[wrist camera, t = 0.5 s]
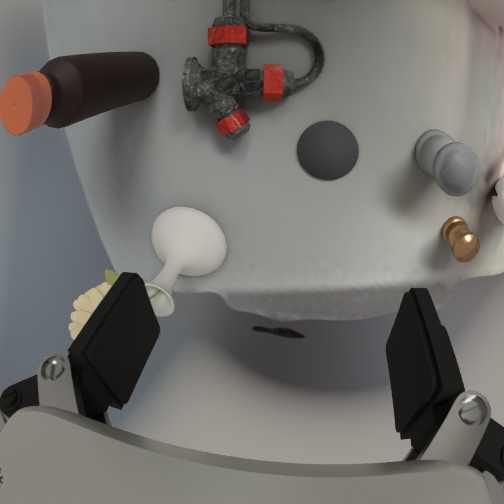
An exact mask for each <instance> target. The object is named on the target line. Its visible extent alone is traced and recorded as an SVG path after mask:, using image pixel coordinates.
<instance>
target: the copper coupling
mask: <svg viewBox="0 0 504 504" xmlns="http://www.w3.org/2000/svg"><path fill="white" fill-rule="evenodd" d="M442 236H443V238H444V240H445V241H446V242H447V243H448V244H450V246H451V247H452V252H453V255H454V256H455V258H456V259H457V260H458V261H460V262H467V261H470V260H471V259H473V258H474V257H475V256H476V255H477V253H478V251H479V248H480V241H479V239H478V238H477V236H476V235H475V234H474V233H472V232H470V230H469V229H468V226H467V223H466V222H465V221H464V220H463V219H462V218H461V217H458V216H455V217H451V218H449V219H448V220H447V221H446V222H445V223H444V225H443V227H442Z"/></svg>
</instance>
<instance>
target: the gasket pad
mask: <svg viewBox="0 0 504 504" xmlns="http://www.w3.org/2000/svg"><path fill="white" fill-rule="evenodd" d="M358 153H359V151H358V144H357V141H356V139H355V137H354V135H353V134H352V133H351V131H350V130H349V129H348V128H346V127H345V126H343V125H342V124H339V123H337V122H333V121H322V122H318V123H315V124H313V125H311V126H310V127H308V128H307V129H306V130H305V131H304V133H303V134H302V136H301V138H300V140H299V144H298V156H299V159H300V162H301V164H302V165H303V167H304V168H305V169H306V170H307V171H308V172H309V173H310V174H312V175H313V176H315V177H318V178H321V179H327V180H331V179H337V178H340V177H342V176H344V175H346V174H347V173H349V172H350V171H351V170H352V168H353V167H354V166H355V164H356V162H357V159H358Z"/></svg>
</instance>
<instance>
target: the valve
mask: <svg viewBox="0 0 504 504" xmlns="http://www.w3.org/2000/svg"><path fill="white" fill-rule="evenodd" d="M247 28H249V29H251V30H253V31H261V32H285V33H294V34H298V35H300V36H302V37H304V38H306V39H307V40H308V41H309V42H310V43H311V45H312V46H313V48H314V51H315V56H316V59H315V64H314V67H313V68H312V70H311V71H310V72H309V73H308V74H307V75H306V76H304V77H302V78H298V79H294V77H293V73H292V72H289V71H286V70H283V66H282V65H264V71H261V69H246V68H245V66H244V51H245V49H243V48H242V46H248V29H247ZM208 45H210V46H212V47H215V49H213V67H211V68H204V67H201V65H200V64H199V63H198V61H197V59H196V57H188V58H187V59H186V61H185V64H184V69H183V96H184V102H185V106H186V108H187V110H188V111H196V110H197V108H198V105H199V104H200V103H201V101H203V102H204V104H205V105H206V107H207V108H208V110H209V112H210V113H211V115H212V116H213V118H214V120H218V122H217V123H215V125H216V126H217V128H218V130H219V131H220V133H221V134H222V136H223V135H226V137H227V138H229V139H236V138H238V137H240V136H242V135H244V134H245V133H247V132H248V131H249V127H250V124H249V122H248V121H249V120H250V119H249V117H248V115H247V114H246V112H245V110H244V109H243V108H241V109H238V107H239V105H238V103H237V101H236V100H235V98H245V95H260V94H263V100H270V101H281V99H282V97H285V96H290V95H292V93H293V87H300V86H304V85H306V84H308V83H310V82H312V81H313V80H314V79H316V78H317V76H318V75H319V74H320V73H321V71H322V68H323V66H324V60H325V57H324V50H323V47H322V45H321V43H320V42H319V40H318V39H317V38H316V37H315V36H314V35H313V34H312V33H311V32H310V31H308V30H306V29H304V28H302V27H299V26H294V25H284V24H260V23H255V22H253V21H252V20H251V19H250V17H249V0H240V17H237V16H235V0H223V16H222V17H218V18H216V19H215V20H214V23H213V25H212V28H208Z"/></svg>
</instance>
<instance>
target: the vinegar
mask: <svg viewBox="0 0 504 504" xmlns="http://www.w3.org/2000/svg"><path fill="white" fill-rule="evenodd" d="M158 79H159V68H158V66H157V63H156V61H155V60H154V59H153V58H152V57H151V56H150V55H148V54H146V53H144V52H107V53H91V54H80V55H70V56H62V57H57V58H54V59H52V60H50V61H48V62H47V63H46V64H45V65H44V66H43V68H41V70H40V71H39V72H38V71H37V72H29V73H25V74H21V75H17V76H14V77H12V78H10V79H9V80H8V82H6V83H5V86H4V87H3V89H2V92H1V96H0V117H1V120H2V123H3V125H4V127H5V128H6V130H7V131H8V132H10V133H11V134H12V135H13V134H14V135H17V136H19V135H22V134H24V133H26V132H29V131H31V130H33V129H35V128H38V127H40V126H41V125H43V124H46V125H48V126H49V127H53V128H62V127H66V126H69V125H71V124H74V123H76V122H79V121H81V120H84V119H87V118H89V117H92V116H95V115H98V114H100V113H103V112H106V111H109V110H112V109H115V108H118V107H121V106H124V105H127V104H131V103H134V102H137V101H141V100H143V99H145V98H147V97H148V96H149V95H150V94H151V93H152V92H153V91H154V90H155V88H156V86H157V84H158Z"/></svg>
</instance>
